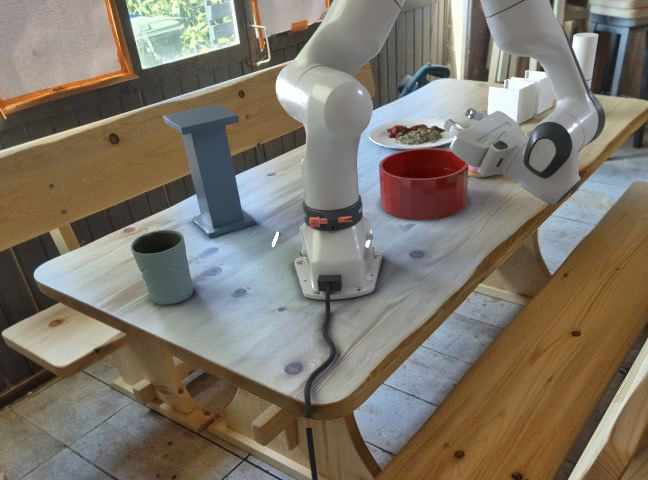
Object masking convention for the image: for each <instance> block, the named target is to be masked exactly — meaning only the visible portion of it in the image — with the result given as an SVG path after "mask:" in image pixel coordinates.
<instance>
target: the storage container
mask: <svg viewBox="0 0 648 480" xmlns="http://www.w3.org/2000/svg"><path fill="white" fill-rule="evenodd" d="M554 96H555V94H554V92H553V90H552V87H551V85H550V82H549V80H548V78H547V75H546V73H545V71H540V70H539V71H538V70H531V69H526V70H525V71H524V77H517V76H513V75H512V76H511V77H510V78H509V79H508V78H506V79H504V81H503V87H497V86H492V85H490V86H488V98H487V112H486V113H487V114H488V115H490V114H492V113H494V112H495V111H501V112H503V113H505V114H506V115H508V116H509V117H510V118H512V119H513V120H514V121H515V122H516V123H518V124H519V125H520V124H522V123H525V122H527V121H528V120H530V119H532V118H533V117H534V115H539V114H541V113H543V112H545V111H546V110H548V109H551V108H553V105H554Z"/></svg>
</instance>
